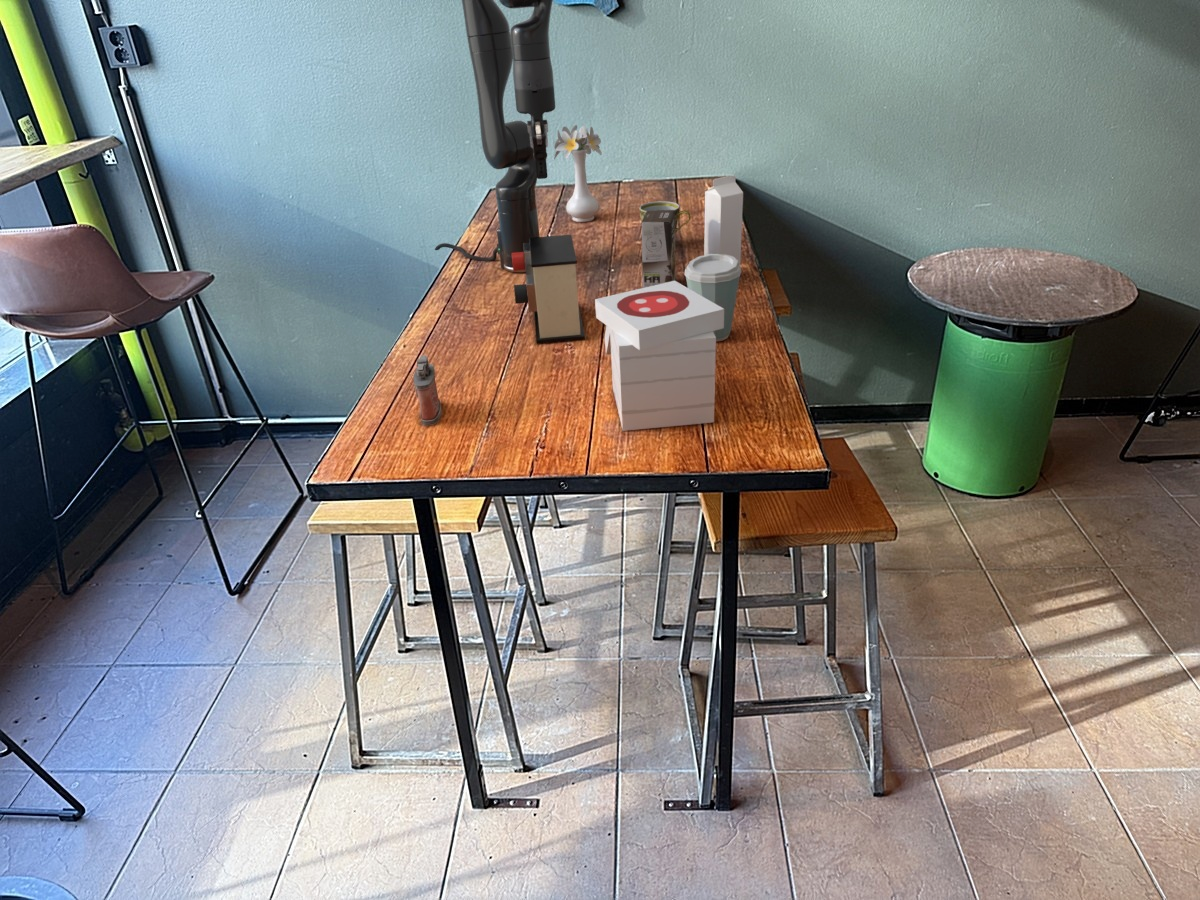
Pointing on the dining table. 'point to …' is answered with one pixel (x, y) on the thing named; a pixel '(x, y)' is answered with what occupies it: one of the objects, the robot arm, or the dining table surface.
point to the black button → (520, 293)
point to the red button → (518, 261)
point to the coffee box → (658, 247)
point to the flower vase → (579, 170)
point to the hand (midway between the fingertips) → (542, 177)
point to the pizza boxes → (661, 354)
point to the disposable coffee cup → (716, 284)
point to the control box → (553, 288)
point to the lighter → (427, 391)
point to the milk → (723, 218)
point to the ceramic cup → (663, 206)
